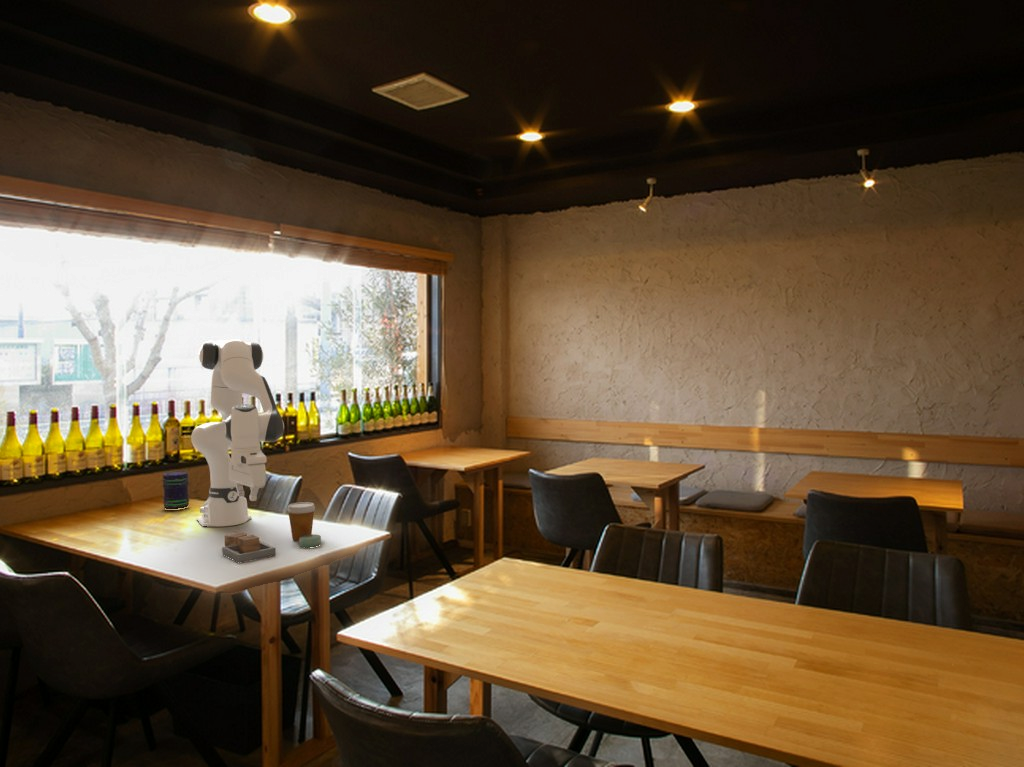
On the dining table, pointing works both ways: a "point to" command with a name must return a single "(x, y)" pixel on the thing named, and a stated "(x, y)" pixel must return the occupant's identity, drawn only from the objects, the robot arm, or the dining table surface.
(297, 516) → the disposable coffee cup
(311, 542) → the sponge
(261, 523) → the dining table surface
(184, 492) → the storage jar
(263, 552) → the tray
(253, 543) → the walnut block
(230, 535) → the walnut block
